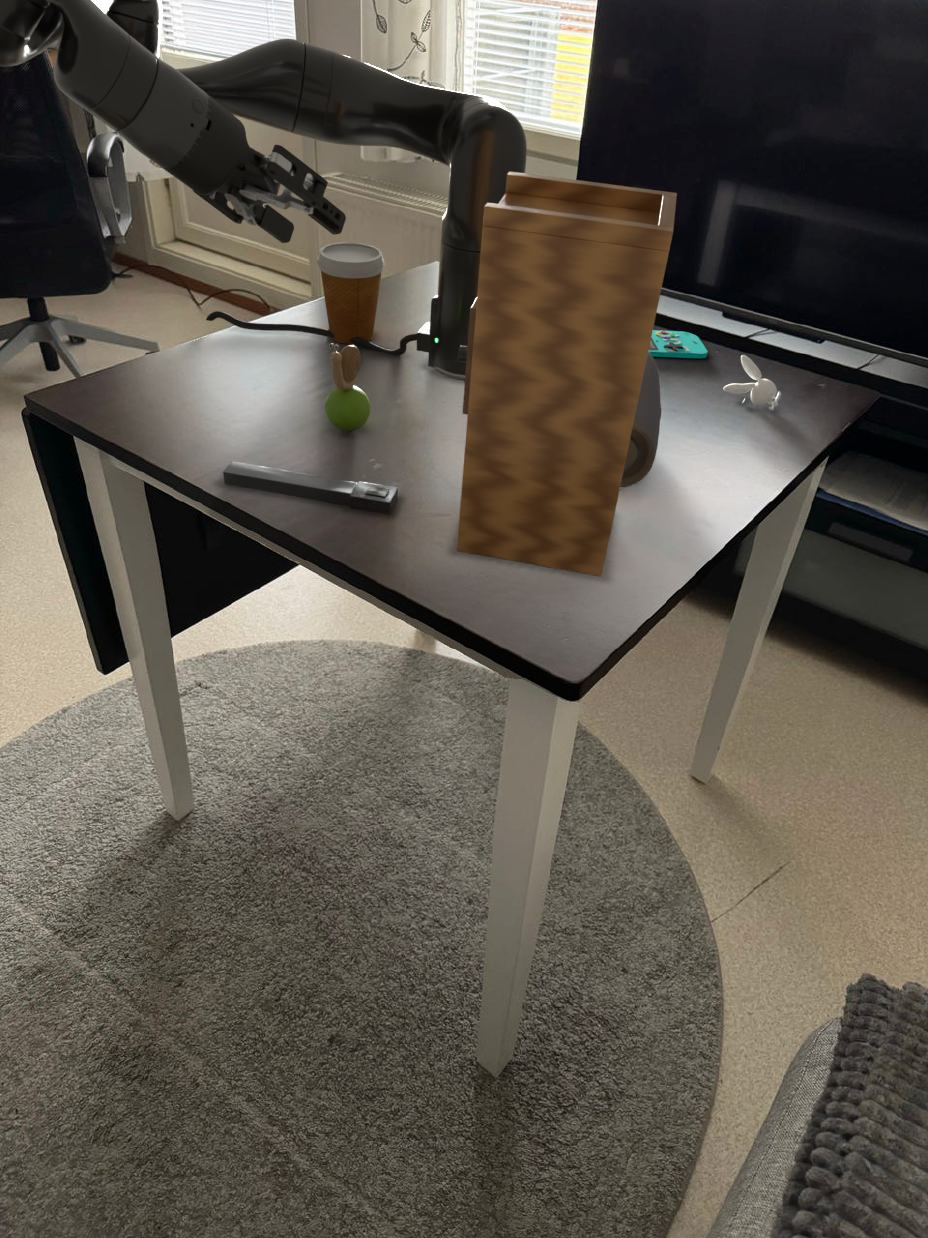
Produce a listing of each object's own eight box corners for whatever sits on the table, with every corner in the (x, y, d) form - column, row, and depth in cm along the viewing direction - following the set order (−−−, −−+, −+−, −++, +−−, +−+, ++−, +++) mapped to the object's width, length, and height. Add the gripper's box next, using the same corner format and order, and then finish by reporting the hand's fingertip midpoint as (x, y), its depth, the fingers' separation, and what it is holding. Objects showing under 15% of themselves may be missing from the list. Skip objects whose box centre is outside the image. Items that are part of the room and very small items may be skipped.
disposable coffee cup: (328, 319, 139) (326, 237, 131) (389, 327, 138) (391, 245, 130) (311, 343, 131) (308, 258, 124) (376, 352, 131) (377, 266, 123)
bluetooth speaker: (650, 503, 104) (668, 423, 97) (568, 491, 105) (581, 411, 98) (653, 415, 121) (669, 342, 115) (583, 405, 122) (595, 332, 116)
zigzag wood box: (441, 548, 94) (464, 203, 73) (464, 490, 103) (491, 168, 82) (601, 577, 92) (673, 231, 71) (611, 515, 101) (677, 192, 80)
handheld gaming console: (710, 351, 136) (611, 348, 135) (708, 358, 137) (610, 355, 136) (695, 330, 143) (601, 326, 141) (693, 336, 144) (600, 332, 142)
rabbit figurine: (772, 418, 123) (726, 382, 122) (757, 427, 127) (712, 393, 126) (793, 385, 124) (747, 349, 124) (778, 395, 128) (733, 361, 127)
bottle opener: (222, 485, 100) (221, 472, 99) (234, 471, 103) (232, 458, 102) (390, 515, 98) (390, 501, 97) (397, 499, 101) (398, 486, 99)
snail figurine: (314, 435, 110) (310, 339, 103) (337, 414, 115) (336, 320, 108) (355, 445, 109) (354, 349, 102) (377, 423, 114) (378, 330, 106)
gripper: (127, 177, 86) (263, 270, 98) (208, 152, 76) (348, 258, 88) (153, 105, 86) (285, 205, 98) (237, 70, 77) (372, 187, 89)
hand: (315, 230), depth 93 cm, fingers open, 8 cm apart
